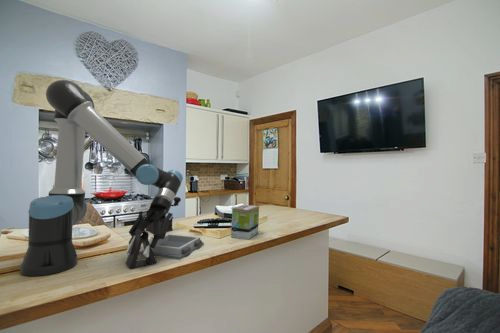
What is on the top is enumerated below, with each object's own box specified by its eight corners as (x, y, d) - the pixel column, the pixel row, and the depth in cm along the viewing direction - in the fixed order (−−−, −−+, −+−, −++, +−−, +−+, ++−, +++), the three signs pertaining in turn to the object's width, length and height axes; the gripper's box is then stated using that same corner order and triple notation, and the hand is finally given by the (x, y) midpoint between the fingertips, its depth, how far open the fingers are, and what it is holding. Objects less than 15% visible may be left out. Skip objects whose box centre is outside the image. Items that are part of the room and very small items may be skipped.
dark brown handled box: (155, 234, 130) (155, 199, 130) (145, 230, 138) (145, 197, 138) (181, 229, 142) (182, 197, 142) (171, 226, 149) (171, 195, 149)
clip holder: (139, 254, 100) (139, 245, 100) (168, 240, 120) (168, 233, 120) (181, 259, 95) (181, 250, 95) (205, 244, 115) (205, 236, 115)
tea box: (249, 240, 124) (250, 209, 124) (230, 237, 127) (231, 207, 127) (258, 232, 138) (259, 205, 138) (241, 230, 141) (241, 204, 141)
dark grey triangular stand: (129, 269, 85) (130, 233, 86) (125, 263, 90) (126, 229, 90) (156, 263, 91) (157, 230, 91) (151, 258, 96) (152, 226, 96)
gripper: (186, 208, 106) (165, 262, 89) (145, 206, 109) (117, 257, 93) (181, 197, 100) (158, 251, 84) (137, 194, 104) (107, 247, 88)
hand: (136, 254), depth 89 cm, fingers closed on dark grey triangular stand, 6 cm apart
